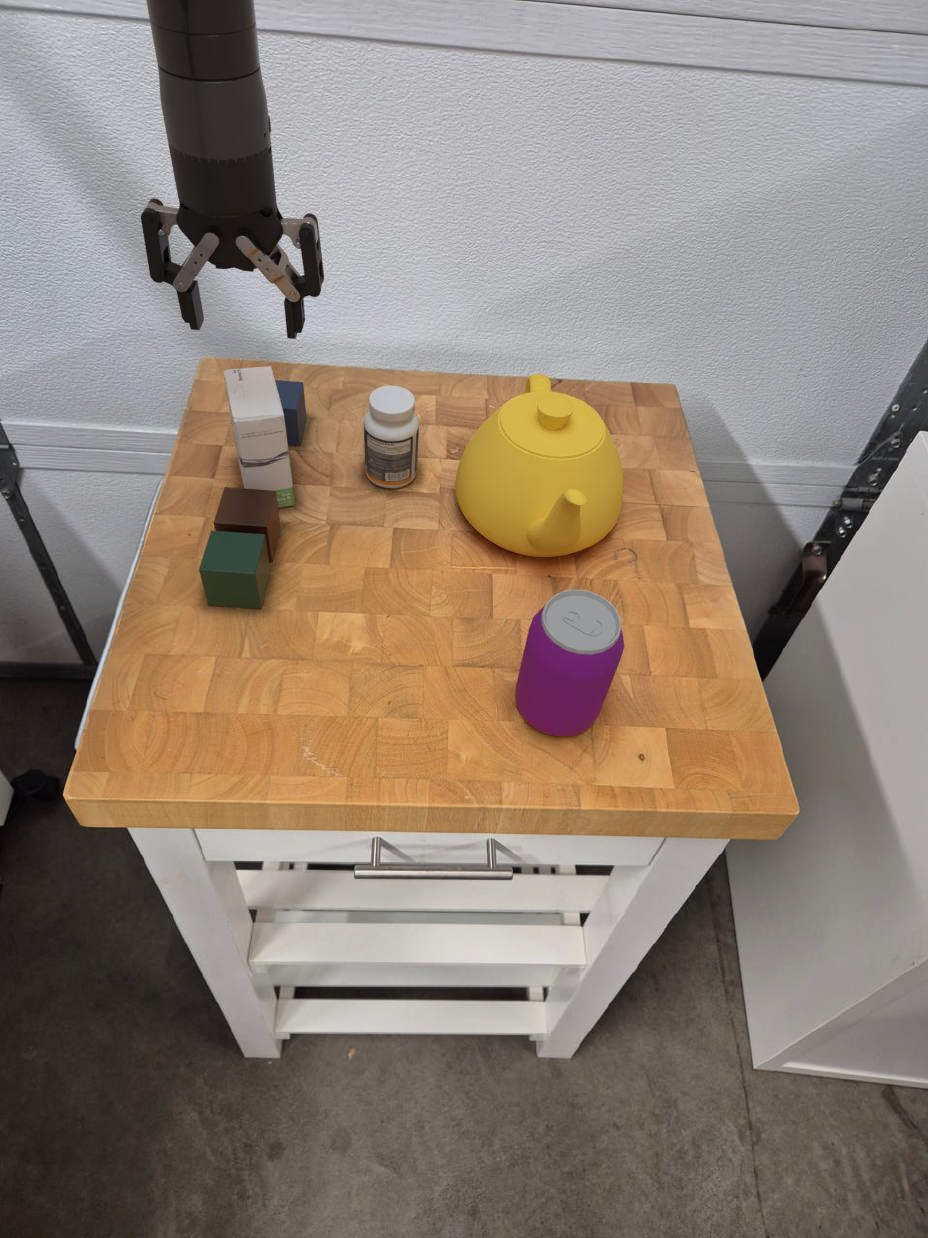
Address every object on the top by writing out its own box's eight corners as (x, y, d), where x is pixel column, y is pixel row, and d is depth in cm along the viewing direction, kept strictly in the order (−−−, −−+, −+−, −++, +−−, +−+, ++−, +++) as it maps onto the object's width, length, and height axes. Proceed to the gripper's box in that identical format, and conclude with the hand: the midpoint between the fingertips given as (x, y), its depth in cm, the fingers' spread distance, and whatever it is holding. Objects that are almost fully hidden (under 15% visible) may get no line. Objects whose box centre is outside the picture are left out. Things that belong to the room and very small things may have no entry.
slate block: (255, 442, 91) (249, 405, 88) (263, 414, 95) (258, 377, 91) (300, 445, 92) (296, 409, 88) (306, 418, 95) (303, 381, 91)
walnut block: (221, 559, 80) (213, 522, 76) (231, 523, 83) (224, 486, 79) (272, 562, 80) (267, 526, 76) (280, 527, 83) (276, 490, 80)
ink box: (296, 506, 85) (286, 414, 76) (248, 514, 84) (232, 421, 75) (282, 454, 90) (271, 362, 81) (237, 460, 89) (221, 367, 80)
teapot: (640, 604, 81) (679, 502, 70) (462, 605, 79) (475, 500, 68) (596, 442, 96) (623, 338, 86) (447, 439, 94) (455, 333, 84)
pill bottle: (377, 451, 92) (377, 375, 84) (424, 465, 91) (428, 390, 83) (356, 481, 89) (353, 405, 81) (404, 497, 88) (407, 422, 80)
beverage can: (498, 717, 71) (516, 632, 62) (534, 656, 76) (556, 568, 66) (579, 756, 69) (610, 674, 60) (611, 691, 74) (644, 606, 64)
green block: (207, 605, 76) (198, 569, 72) (219, 566, 79) (210, 530, 76) (261, 609, 76) (255, 573, 73) (270, 570, 80) (265, 533, 76)
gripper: (106, 144, 58) (154, 346, 71) (307, 163, 59) (319, 360, 71) (136, 105, 63) (176, 300, 75) (321, 123, 64) (330, 314, 76)
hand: (245, 329), depth 73 cm, fingers open, 8 cm apart
